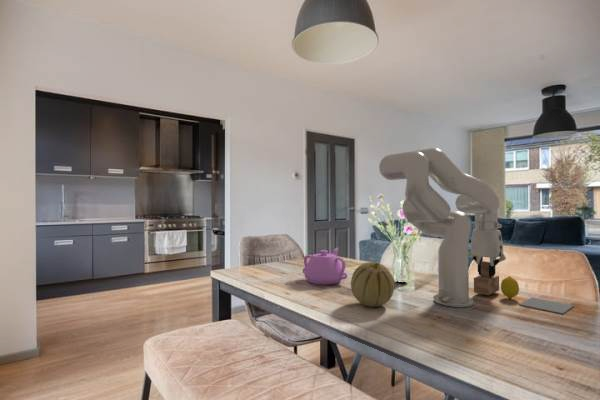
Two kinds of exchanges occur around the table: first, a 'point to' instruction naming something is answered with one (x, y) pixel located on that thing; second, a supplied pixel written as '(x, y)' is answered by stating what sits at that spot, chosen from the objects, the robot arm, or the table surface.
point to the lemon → (509, 287)
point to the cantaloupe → (372, 284)
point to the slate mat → (547, 305)
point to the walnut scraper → (486, 281)
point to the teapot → (324, 268)
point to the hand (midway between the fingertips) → (486, 275)
